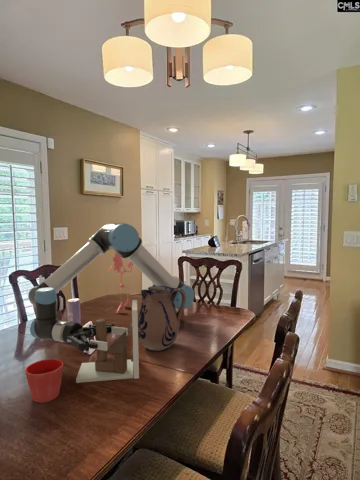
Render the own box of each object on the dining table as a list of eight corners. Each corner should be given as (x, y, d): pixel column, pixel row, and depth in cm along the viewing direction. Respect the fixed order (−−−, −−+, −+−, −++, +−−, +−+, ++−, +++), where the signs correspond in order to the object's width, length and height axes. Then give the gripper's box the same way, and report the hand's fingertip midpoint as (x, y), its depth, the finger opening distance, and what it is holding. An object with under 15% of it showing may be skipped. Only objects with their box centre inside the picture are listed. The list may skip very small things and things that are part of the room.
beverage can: (83, 328, 160) (82, 298, 159) (75, 332, 155) (74, 301, 153) (73, 326, 162) (72, 297, 161) (65, 331, 156) (64, 300, 155)
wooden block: (123, 374, 111) (122, 323, 109) (95, 371, 113) (93, 321, 112) (127, 369, 114) (126, 319, 113) (99, 366, 117) (97, 318, 115)
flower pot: (34, 387, 105) (32, 359, 104) (68, 385, 106) (67, 357, 105) (20, 407, 95) (19, 375, 94) (59, 404, 96) (57, 373, 95)
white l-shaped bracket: (138, 361, 123) (137, 299, 121) (139, 378, 110) (137, 310, 108) (82, 365, 120) (79, 302, 118) (75, 383, 107) (72, 313, 105)
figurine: (139, 304, 200) (136, 248, 197) (121, 317, 175) (117, 254, 173) (116, 303, 204) (114, 249, 201) (95, 316, 179) (92, 254, 177)
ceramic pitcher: (132, 342, 141) (131, 286, 139) (176, 334, 149) (175, 282, 147) (144, 358, 125) (142, 295, 123) (192, 349, 133) (192, 290, 131)
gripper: (88, 330, 132) (134, 336, 125) (43, 355, 109) (97, 365, 101) (88, 312, 131) (134, 317, 124) (42, 334, 108) (96, 341, 101)
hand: (117, 338), depth 113 cm, fingers open, 13 cm apart
